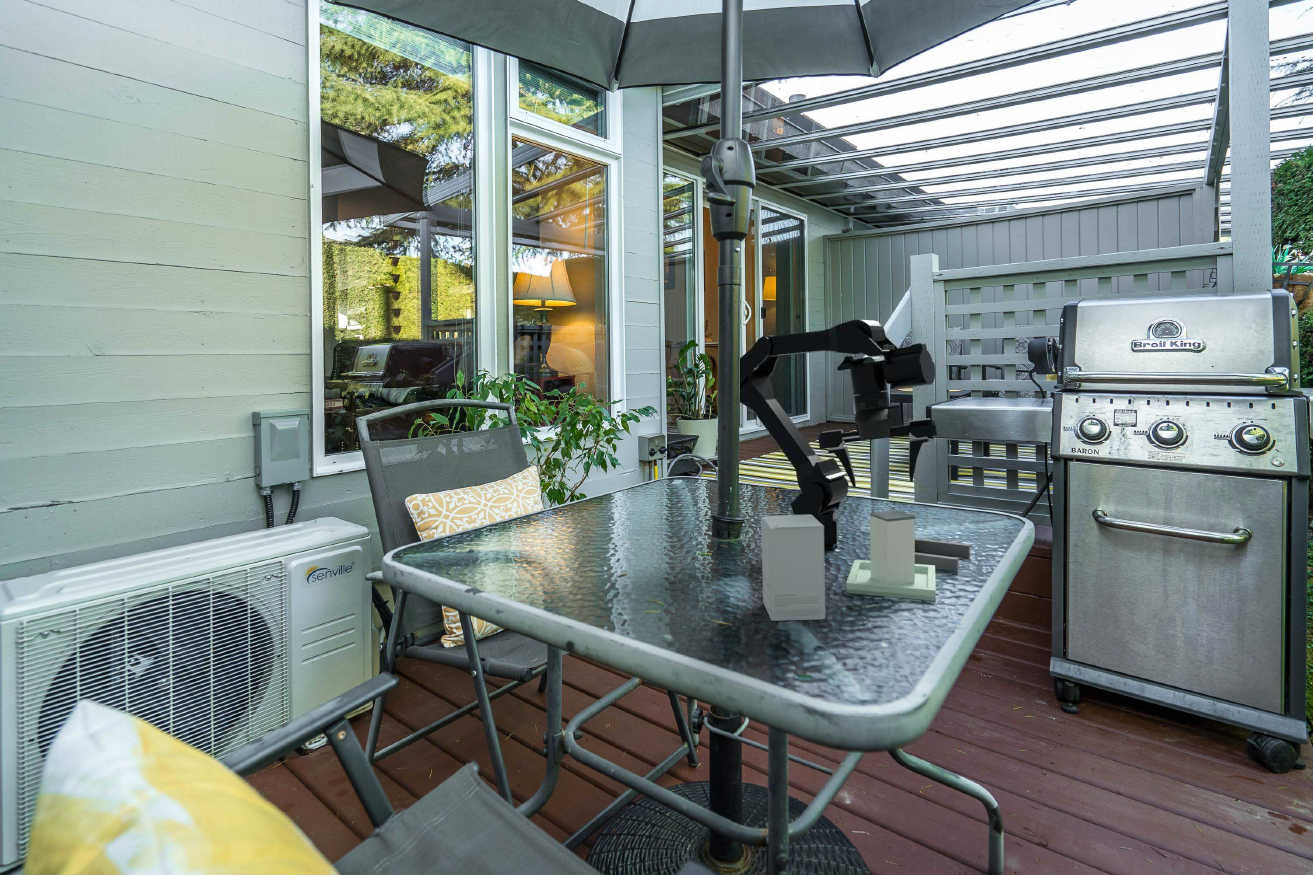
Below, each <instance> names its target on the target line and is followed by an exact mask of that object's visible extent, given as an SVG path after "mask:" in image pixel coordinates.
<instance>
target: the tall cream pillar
mask: <svg viewBox="0 0 1313 875" xmlns="http://www.w3.org/2000/svg"><path fill="white" fill-rule="evenodd" d="M869 518H870V519H869V524H870V526H869V527H870V528H869V532H870V534H869V538H870V543H869V544H870V545H869V546H870V548H869V549H870V550H869V551H870V554H869V555H870V560H869V561H870V562H871V578H873V579H875V580H877V581H879V582H881V583H883V584H891V585H900V584H907V583H915V553H916V551H915V537H916V536H915V535H916V534H915V533H916V531H915V530H916V528H915V523H916V522H915V518H916V516H915V515H912V514H909V513H907V512H903V511H900V510H897V509H895V510H886V511H885V510H884V511H877V512H870V513H869Z"/></svg>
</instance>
